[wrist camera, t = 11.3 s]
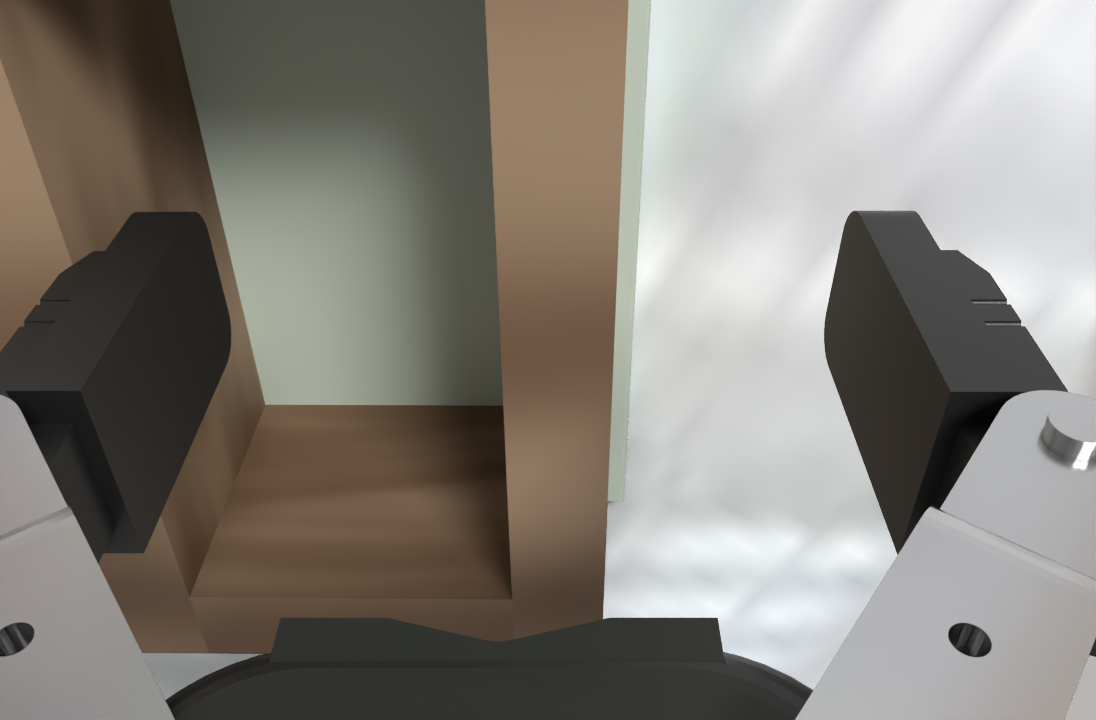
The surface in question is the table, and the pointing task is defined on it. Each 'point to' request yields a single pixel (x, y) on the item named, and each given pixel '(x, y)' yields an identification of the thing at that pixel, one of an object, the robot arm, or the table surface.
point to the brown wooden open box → (347, 430)
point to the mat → (376, 196)
